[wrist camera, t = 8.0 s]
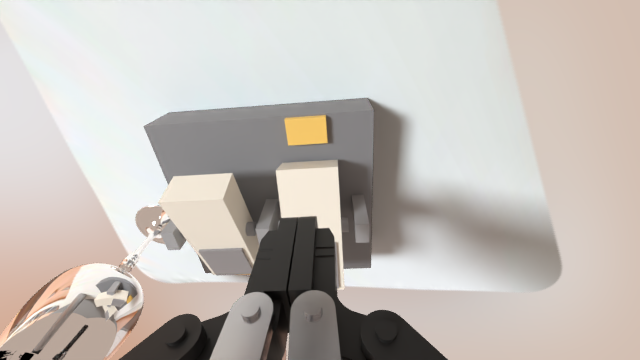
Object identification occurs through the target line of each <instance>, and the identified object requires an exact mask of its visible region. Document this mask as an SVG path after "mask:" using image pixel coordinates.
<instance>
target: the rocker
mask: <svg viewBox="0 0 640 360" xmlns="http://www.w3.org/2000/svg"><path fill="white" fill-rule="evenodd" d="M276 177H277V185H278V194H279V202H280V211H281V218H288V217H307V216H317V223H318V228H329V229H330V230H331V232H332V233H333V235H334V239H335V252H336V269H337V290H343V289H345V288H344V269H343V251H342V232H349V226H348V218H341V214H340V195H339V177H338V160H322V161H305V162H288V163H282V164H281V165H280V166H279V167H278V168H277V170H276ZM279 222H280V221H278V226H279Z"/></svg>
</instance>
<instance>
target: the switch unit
mask: <svg viewBox="0 0 640 360" xmlns="http://www.w3.org/2000/svg"><path fill="white" fill-rule="evenodd" d="M144 128H145V131H146V133H147V135H148V138H149V140H150V142H151V145H152V147H153V150H154V152H155V154H156V157H157V159H158V161H159V164H160V166H161V169H162V171H163V173H164V176H165V178H166V180H167V183H168V185H169V183H170V181H171V180H172V178H173V176H189V175H206V174H224V173H233V176H234V178H235V180H236V183H237V185H238V187H239V190H240V192H241V194H242V197H243V199H244V201H245V204H246V206H247V208H248V211H249V213H250V216H251V218H252V220H253V222H256V224H257V226H256V229H255V230H256V234H257V238H258V241H259V245H260V242H261V239H262V238H263V237H264V236H265V235H266V233H267V232H268V231H272V230H278V221H280V219H281V211H280V202H279V194H278V185H277V177H276V170H277V168H278V167H279V166H280V165H281V164H282V163H288V162H305V161H322V160H338V177H339V195H340V214H341V218H348V226H349V232H342V251H343V269H350V268H371V236H372V183H373V131H374V109H373V107H372V105H371V103H370V102H369V100H368V98H359V99H346V100H332V101H319V102H305V103H292V104H279V105H265V106H252V107H238V108H225V109H211V110H198V111H184V112H171V113H167V114H166V115H164V116H162V117H160V118H158V119H156V120H154V121H153V122H151V123H149V124H147V125H145V126H144ZM160 234H161V236H162V239H163V241H164V243H165V245H166V247H167V249H168V250H180V249H181V247H182V246H183V244H184V243H185V242H186V238H185V237H184V236H183V235H182V233H181V232H180V231H179V229H178V228H177V227H176V225H175V224H174V223H173V222H172V220H170V222H169V223H168V224H167V225H166V227H165V228H164V229H163V230H162V231H161V233H160ZM198 256H199V255H198ZM199 259H200V261H201V263H202V266H203V268H204V271H205V273H212V272H211V271H210V270H209V268H208V267H207V266H206V265H205V263H204V262H203V261H202V259H201V258H200V257H199ZM240 275H251V274H240Z"/></svg>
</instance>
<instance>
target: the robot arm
mask: <svg viewBox="0 0 640 360" xmlns="http://www.w3.org/2000/svg"><path fill="white" fill-rule="evenodd" d="M288 333H289V352H288V360H448V359H446V358H445V357H444V356H443V355H442V354H441V353H440V352H439V351H438V350H437V349H436V348H434V347H433V346H432V345H431V344H430V343H429V342H428V341H427V340H426V339H425V338H423V337H422V336H421V335H420V334H419V333H418V332H417V331H416V330H414V329H413V328H412V327H411V326H410V325H409V324H408V323H407V322H406V321H405V320H404V319H403V318H401V317H400V316H399V315H397V314H396V313H394V312H391V311H387V310H377V311H374V312H372V313H370V314H368V315H367V316H366V315H363V314H360V313H357V312H354V311H351V310H349V309H348V308H346V307H345V306H344V305H343V304H342V303H341V302H340V301H339V299H338V297H337V269H336V252H335V239H334V235H333V233H332V232H331V230H330V229H329V228H318V223H317V216H307V217H288V218H281V219H280V222H279V226H278V230H272V231H268V232H267V233H266V235H265V236H264V237H263V238H262V239H261V242H260V245H259V249H258V252H257V255H256V260H255V262H254V265H253V268H252V272H251V275H250V278H249V282H248V285H247V288H246V291H245V294H244V296H242V297H241V298H239V299H238V300H237V301H236V302H235V303H234V304H233V306H232V307H231V309H230V311H229V312H227V313H225V314H223V315H221V316H218V317H215V318H212V319H209V320H206V321H203V322H201V321H200V320H199V318H198V317H197V316H195V315H192V314H183V315H179V316H177V317H174V318H173V319H171V320H170V321H168V322H167V323H165V324H164V325H163V326H162V327H160V328H159V329H158V330H156V331H155V332H154V333H152V334H151V335H150V336H149V337H148V338H146V339H145V340H143V341H142V342H141V343H140V344H138V345H137V346H136V347H134V348H133V349H132V350H131V351H129V352H128V353H127V354H126V355H124V356H123V357H122V358H120V359H119V360H286V341H287V334H288Z"/></svg>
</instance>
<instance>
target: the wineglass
mask: <svg viewBox="0 0 640 360" xmlns="http://www.w3.org/2000/svg"><path fill="white" fill-rule="evenodd" d="M170 220H171V219H170V218H169V216H168V215H167V214H166V212H165V211H164V210H163V209H162V207H161V206H157V205H149V206H145V207H142V208H141V209H140V210H139V211H138V212H137V214H136V217H135V221H136V225H137V227H138V229H139V230H140V231H141V232H142V233H143V234H144V235H145V236H146V237H147V238H146V239H145V241H144V242H143V243H142V244H141V245H140V246H139V247H138V248H137V249H136V250H135V251H134V252H133V253H132V254H130V255H128V256H127V257H126V258H125V259H124V260H122V261H121V263H120V265H119V267H117V266H112V265H109V264H102V263H91V264H85V265H80V266H77V267H74V268H71V269H69V270H67V271H64V272H63V273H61V274H60V275H58V276H56V277H55V278H54V279H52V280H51V281H49V282H48V283H47V284H46V285H44V286H43V287H42V288H41V289H40V290H38V292H36V293H35V294H34V295H33V296H32V297H31V298H30V300H28V301H27V303H26V304H25V305H24V306H23V307H22V308H21V309H20V311H19V312H18V313H17V314H16V316H15V317H14V318H13V319H12V321H11V322H10V323H9V324H8V326H7V327H6V328H5V329H4V331H3V332H2V333H1V335H0V360H109V359H110V358H111V357H112V356H113V355H114V354H115V353H116V351H117V350H118V349H119V348H120V347H121V345H122V344H123V343H124V341H125V340H126V339H127V337H128V336H129V334H130V333H131V331H132V329H133V328H134V327H135V325H136V323H137V321H138V319H139V317H140V315H141V312H142V309H143V304H144V295H143V291H142V287H141V286H140V284H139V282H138V281H137V280H136V279H135V277H134V276H132V275H131V274H130V273H129V272H130V271H131V270H132V269H133V268H134V267H135V266H136V265H137V263H138V260H139V258H140V256H141V254H142V252H143V251H144V249H145V248H146V247H147V246H148V245H149V244H150V242H151V241H152V240H153V241H155V242H158V243H162V244H165V243H164V241H163V239H162V236H161V234H160V233H161V231H162V230H163V229H164V228H165V227H166V225H167V224H168V223H169V222H170Z"/></svg>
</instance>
